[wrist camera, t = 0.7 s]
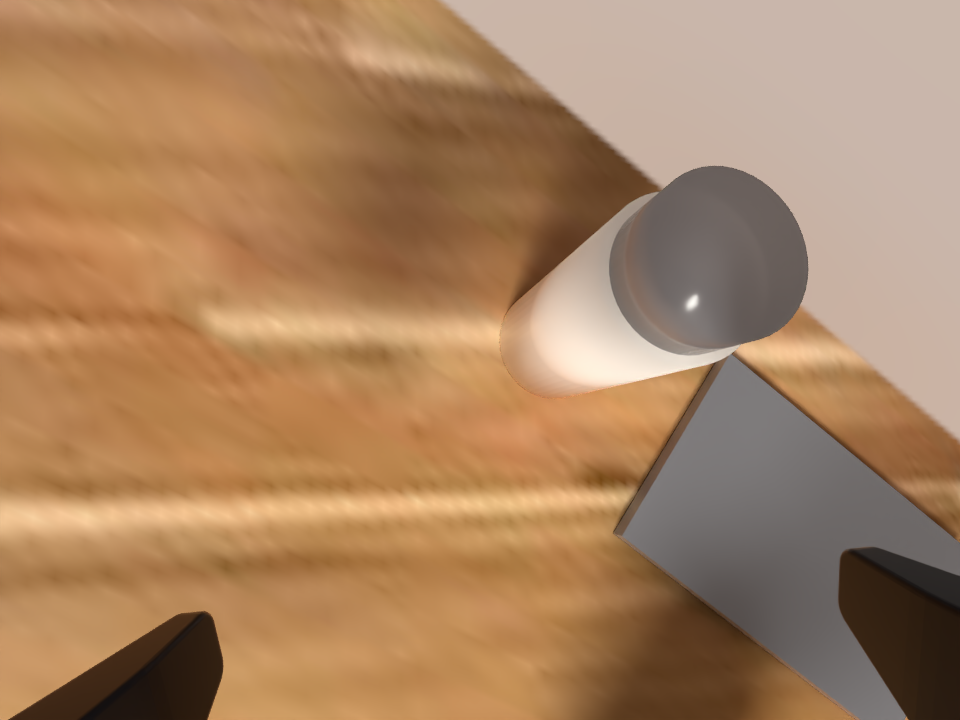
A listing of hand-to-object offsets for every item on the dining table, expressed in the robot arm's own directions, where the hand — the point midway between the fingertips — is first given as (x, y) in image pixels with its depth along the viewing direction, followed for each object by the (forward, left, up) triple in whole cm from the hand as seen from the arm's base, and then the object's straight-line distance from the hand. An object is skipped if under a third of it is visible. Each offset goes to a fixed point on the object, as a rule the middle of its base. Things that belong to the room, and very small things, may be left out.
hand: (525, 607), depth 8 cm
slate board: (-7, -17, -15) cm, 24 cm away
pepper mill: (+5, -8, -15) cm, 18 cm away
